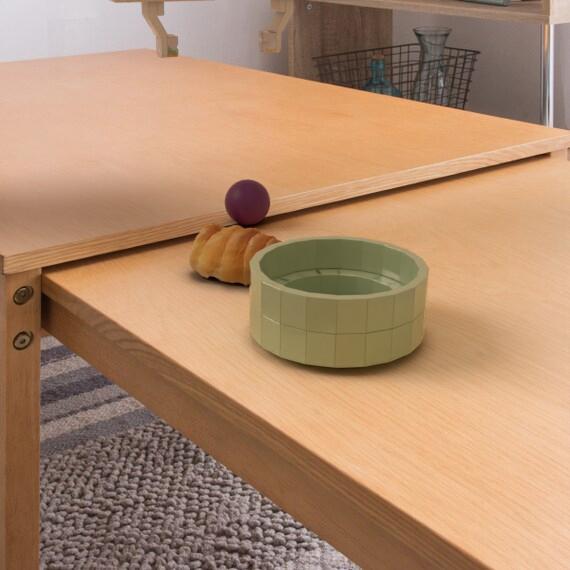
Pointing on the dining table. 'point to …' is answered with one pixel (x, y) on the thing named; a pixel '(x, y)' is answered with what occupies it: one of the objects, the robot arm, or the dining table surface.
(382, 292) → the basin
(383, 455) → the dining table surface
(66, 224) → the dining table surface
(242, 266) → the pastry
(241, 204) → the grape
